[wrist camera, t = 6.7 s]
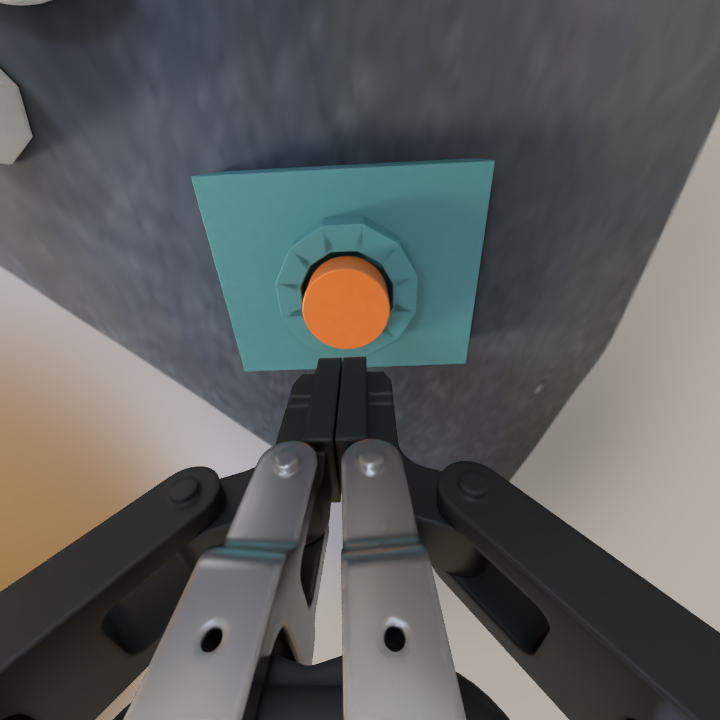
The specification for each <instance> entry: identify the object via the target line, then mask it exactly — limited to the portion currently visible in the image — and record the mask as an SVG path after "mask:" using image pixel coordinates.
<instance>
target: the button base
mask: <svg viewBox="0 0 720 720" xmlns="http://www.w3.org/2000/svg"><path fill="white" fill-rule="evenodd" d="M494 165H495V161H494V160H488V159H480V158H465V159H446V160H428V161H409V162H390V163H371V164H352V165H333V166H314V167H295V168H277V169H258V170H239V171H220V172H211V173H206V174H201V175H195V176H192V177H191V179H192V182H193V186H194V189H195V193H196V197H197V200H198V204H199V207H200V211H201V215H202V218H203V222H204V225H205V229H206V233H207V236H208V240H209V244H210V247H211V251H212V254H213V258H214V262H215V265H216V269H217V272H218V276H219V280H220V283H221V287H222V290H223V294H224V298H225V301H226V305H227V309H228V312H229V316H230V319H231V323H232V327H233V330H234V334H235V337H236V341H237V345H238V348H239V352H240V355H241V359H242V363H243V366H244V370H245V371H271V370H299V369H316V368H317V364H318V359H319V358H338V357H342V360H343V358H344V357H364V356H366V361H367V367H382V366H410V365H438V364H465V363H466V358H467V351H468V344H469V337H470V330H471V323H472V317H473V310H474V303H475V296H476V289H477V282H478V275H479V268H480V261H481V255H482V248H483V241H484V234H485V227H486V220H487V213H488V206H489V199H490V192H491V186H492V179H493V172H494ZM339 256H355V257H359V258H362V259H364V260H366V261H368V262H370V263H371V264H372V265H374V266H375V267H376V268H377V269H378V270H379V272H380V273H381V274H382V276H383V278H384V280H385V283H386V286H387V291H388V297H389V303H390V316H389V320H388V323H387V325H386V327H385V329H384V331H383V332H382V333H381V334H380V335H379V337H378V338H376V339H375V340H374V341H372V342H371V343H369V344H367V345H365V346H363V347H360V348H355V349H339V348H335V347H332V346H329V345H327V344H325V343H323V342H321V341H320V340H319V339H317V338H316V337H315V336H314V335H313V334H312V333H311V331H310V330H309V328H308V327H307V325H306V323H305V320H304V317H303V312H302V303H303V298H304V295H305V292H306V290H307V287H308V284H309V282H310V279H311V277H312V275H313V273H314V272H315V271H316V269H317V268H318V267H319V266H320V265H321V264H323V263H324V262H326V261H328V260H329V259H332V258H335V257H339Z"/></svg>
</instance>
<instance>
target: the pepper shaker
mask: <svg viewBox="0 0 720 720" xmlns="http://www.w3.org/2000/svg"><path fill="white" fill-rule="evenodd" d="M32 137H33V136H32V132H31V129H30V125H29V122H28V118H27V115H26V111H25V108H24V105H23V101H22V98H21V94H20V91H19V87H18V86H17V85H16V84H15V83H14V82H13V81H12V80H11V79H10V78H9V77H8V76H7V75H6V74H5V73H4V72H3V71H2V70H1V69H0V164H13V163H14V161H15V160H16V159H17V157H18V156H19V155H20V153H21V152H22V151H23V149H24V148H25V147H26V145H27V144H28V143H29V141H30V140H31V139H32Z"/></svg>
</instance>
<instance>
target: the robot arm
mask: <svg viewBox="0 0 720 720" xmlns="http://www.w3.org/2000/svg"><path fill="white" fill-rule="evenodd" d="M341 490H342V520H343V549H342V553H341V586H342V587H341V588H342V646H343V647H342V650H343V655H342V656H340V657H337V658H334V659H331V660H328V661H325V662H322V663H319V664H316V665H312V659H313V650H314V640H315V613H316V605H317V599H318V593H319V587H320V581H321V575H322V570H323V564H324V558H325V552H326V546H327V540H328V534H329V526H328V523H329V517H330V506H331V502H340V501H341ZM431 566H433V568H434V570H435V572H436V573H437V574H438V576H439V577H440V578H441V579H442V580H443V581H444V582H445V584H446V585H447V586H448V587H449V588H450V589H451V590H452V591H453V592H454V593H455V595H456V596H457V597H458V598H459V599H460V600H461V601H462V602H463V603H464V604H465V605H466V607H468V609H469V610H470V611H471V612H472V613H473V614H474V615H475V617H476V618H477V619H478V620H479V621H480V622H481V623H482V624H483V625H484V626H485V628H486V629H487V630H488V631H489V632H490V633H491V634H492V635H493V636H494V637H495V638H496V640H497V641H498V642H499V643H500V644H501V645H502V646H503V647H504V648H505V649H506V651H507V652H508V653H509V654H510V655H511V656H512V657H513V658H514V659H515V660H516V662H518V664H519V665H520V666H521V667H522V668H523V669H524V670H525V671H526V672H527V674H528V675H529V676H530V677H531V678H532V679H533V680H534V681H535V682H536V683H537V684H538V686H539V687H540V688H541V689H542V690H543V691H544V692H545V693H546V694H547V696H549V698H550V699H551V700H552V701H553V702H554V703H555V704H556V705H557V706H558V708H559V709H560V710H561V711H562V712H563V713H564V714H565V715H566V716H567V718H568V719H570V720H720V633H719V632H718V631H716V630H715V629H714V628H712V627H711V626H709V625H708V624H706V623H705V622H704V621H702V620H701V619H700V618H698V617H697V616H695V615H694V614H693V613H691V612H690V611H688V610H687V609H686V608H684V607H683V606H681V605H680V604H679V603H677V602H676V601H674V600H673V599H672V598H670V597H669V596H667V595H666V594H665V593H663V592H662V591H660V590H659V589H658V588H656V587H655V586H654V585H652V584H651V583H649V582H648V581H646V580H645V579H644V578H642V577H641V576H639V575H638V574H637V573H635V572H634V571H633V570H631V569H630V568H628V567H627V566H625V565H624V564H623V563H621V562H620V561H619V560H617V559H616V558H614V557H613V556H612V555H610V554H609V553H607V552H606V551H605V550H603V549H602V548H601V547H599V546H598V545H596V544H595V543H594V542H592V541H591V540H589V539H588V538H586V537H585V536H584V535H582V534H581V533H580V532H578V531H577V530H575V529H574V528H572V527H571V526H570V525H568V524H567V523H565V522H564V521H563V520H561V519H560V518H559V517H557V516H556V515H554V514H553V513H551V512H550V511H549V510H547V509H546V508H544V507H543V506H542V505H541V504H539V503H538V502H536V501H535V500H534V499H532V498H531V497H529V496H528V495H526V494H525V493H523V492H522V491H521V490H520V489H518V488H517V487H515V486H514V485H513V484H511V483H510V482H508V481H507V480H506V479H504V478H503V477H501V476H500V475H499V474H497V473H496V472H494V471H493V470H492V469H490V468H488V467H486V466H484V465H482V464H479V463H476V462H471V461H460V462H455V463H452V464H450V465H448V466H447V467H446V468H445V469H444V470H443V471H438V470H434V469H430V468H426V467H423V466H420V465H418V464H416V463H414V462H412V461H411V460H409V459H408V458H407V457H406V456H405V455H404V454H403V453H402V451H401V450H400V447H399V444H398V438H397V429H396V420H395V411H394V402H393V395H392V384H391V380H390V379H389V378H388V377H387V375H386V374H385V373H384V372H367V361H366V356H364V357H344V358H343V360H342V357H338V358H319V359H318V364H317V368H316V373H315V374H303V375H302V376H301V377H300V378H299V379H298V380H297V381H296V382H295V383H294V384H293V387H292V390H291V394H290V398H289V401H288V404H287V408H286V411H285V414H284V418H283V421H282V424H281V428H280V431H279V435H278V438H277V441H276V445H275V446H273V447H271V448H270V449H268V450H267V451H266V452H265V453H264V454H263V455H262V456H261V458H260V459H259V461H258V463H257V465H256V467H255V468H252V469H250V470H247V471H245V472H242V473H238V474H235V475H231V476H228V477H224V478H221V479H219V477H218V475H217V473H216V472H215V471H214V470H212V469H210V468H208V467H191V468H187V469H185V470H182V471H179V472H177V473H175V474H174V475H172V476H170V477H169V478H167V479H166V480H164V481H163V482H161V483H160V484H159V485H157V486H156V487H154V488H153V489H151V490H150V491H148V492H147V493H145V494H144V495H142V496H141V497H139V498H138V499H136V500H135V501H134V502H132V503H131V504H129V505H128V506H126V507H125V508H123V509H122V510H120V511H119V512H118V513H116V514H114V515H113V516H111V517H110V518H109V519H107V520H106V521H104V522H103V523H101V524H100V525H98V526H97V527H95V528H94V529H92V530H91V531H89V532H88V533H86V534H85V535H83V536H82V537H81V538H79V539H78V540H76V541H75V542H73V543H72V544H70V545H69V546H67V547H66V548H64V549H63V550H61V551H60V552H58V553H57V554H55V555H54V556H53V557H51V558H50V559H48V560H47V561H45V562H44V563H42V564H41V565H40V566H38V567H36V568H35V569H33V570H32V571H30V572H29V573H28V574H26V575H25V576H23V577H22V578H20V579H19V580H17V581H16V582H14V583H13V584H11V585H10V586H8V587H7V588H5V589H4V590H3V591H1V592H0V720H95V719H96V718H97V717H98V716H99V715H100V714H101V713H102V712H103V711H104V710H105V709H106V708H107V707H108V706H109V705H110V704H111V703H112V702H113V701H114V700H115V699H116V698H117V697H118V696H119V695H120V694H121V693H122V692H123V691H124V690H125V689H126V688H127V687H128V686H129V685H130V684H131V683H132V682H133V681H134V680H135V679H136V678H137V677H138V676H139V675H140V674H141V673H142V672H143V671H144V670H145V669H146V668H147V667H148V669H147V671H146V673H145V675H144V677H143V679H142V681H141V683H140V685H139V688H138V690H137V692H136V694H135V696H134V698H133V701H132V702H131V703H130V704H129V705H128V706H127V707H126V708H124V709H123V710H122V711H121V712H120V713H119V714H118V715H117V716H116V717H115V718H114V719H113V720H510V719H509V718H508V717H507V716H506V714H505V713H504V712H503V711H502V710H501V709H500V708H499V707H498V706H497V705H496V703H495V702H493V700H492V699H491V698H490V697H489V696H488V695H486V694H485V693H484V692H483V691H482V690H481V689H480V688H478V687H477V686H476V685H475V684H474V683H472V682H471V681H469V680H468V679H466V678H465V677H463V676H462V675H461V674H459V673H457V672H455V668H454V663H453V659H452V654H451V650H450V646H449V642H448V637H447V633H446V629H445V624H444V620H443V615H442V611H441V607H440V602H439V598H438V593H437V589H436V585H435V580H434V576H433V572H432V567H431ZM153 572H154V573H153Z"/></svg>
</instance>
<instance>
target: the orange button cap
mask: <svg viewBox="0 0 720 720" xmlns="http://www.w3.org/2000/svg"><path fill="white" fill-rule="evenodd" d="M302 312H303V317H304V320H305V323H306V325H307V327H308V328H309V330H310V331H311V333H312V334H313V335H314V336H315V337H316V338H317V339H319V340H320V341H321V342H323V343H325V344H327V345H329V346H332V347H335V348H339V349H355V348H360V347H363V346H365V345H367V344H369V343H371V342H372V341H374V340H375V339H376V338H378V337H379V335H380V334H381V333H382V332H383V331H384V329H385V327H386V325H387V323H388V320H389V316H390V303H389V297H388V291H387V286H386V283H385V280H384V278H383V276H382V274H381V273H380V272H379V270H378V269H377V268H376V267H375V266H374V265H372V264H371V263H370V262H368V261H366V260H364V259H362V258H359V257H355V256H339V257H335V258H332V259H329V260H328V261H326V262H324V263H323V264H321V265H320V266H319V267H318V268H317V269H316V271H315V272H314V273H313V275H312V277H311V279H310V282H309V284H308V287H307V290H306V292H305V295H304V298H303V303H302Z"/></svg>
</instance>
